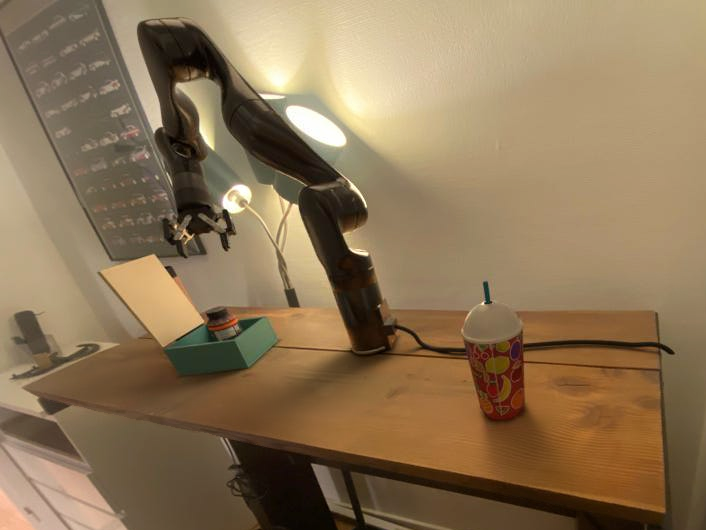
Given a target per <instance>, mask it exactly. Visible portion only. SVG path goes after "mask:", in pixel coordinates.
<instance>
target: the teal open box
mask: <svg viewBox="0 0 706 530" xmlns="http://www.w3.org/2000/svg"><path fill="white" fill-rule="evenodd" d="M237 320H238V322H239V324H240V326H241V328H242V330H243V333H242V334H240V335H239V336H238V337H236V338H235V339H234V340H226V341H218V342H216V341H215V339H214V338H213V336H212V334H211V332H210V331H209V329H208V327H207V323H203V324H204V325H202V326H201V327H199V328H197V329H196V330H194V331H193V332H191V333H189V334H188V335H186V336H185V337H183V338H181V339H180V340H178V341H174V343H173V342H172V343H171V344H169V346H167V347H164V349H163V352H164V353H165V355H166V357H167V358H168V360H169V361H170V363H171V365H172V367H173V368H174V370H175V371H176V372H177V375H178V376H179V377H183V376H184V377H186V376H192V375H201V374H210V373H218V372H225V371H226V372H227V371H234V370H235V371H236V370H242V369H250V367H252V366H253V365H254V364H255V363H256V362H257V361H258V360H259V359H260V358H262V356H264V355H265V354H266V353H267V352H268V351H269V350H270V349H271V348H272V347H273V346H274V345H276V344H277V343H278V342H279V337H278V336H277V334H276V332H275V329H274V327H273V325H272V323H271V320H270V318H269V316H268V315H263V316H255V317H249V318H248V317H247V318H241V319H237Z"/></svg>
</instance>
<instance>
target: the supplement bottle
mask: <svg viewBox="0 0 706 530" xmlns="http://www.w3.org/2000/svg"><path fill="white" fill-rule="evenodd" d="M204 313H205V316H206V318H208V320H207V321H206V324H207V327H208V329H209V331H210V332H211V334H212V336H213V338H214V339H215V341H216V342H218V341H226V340H234V339H235V338H236V337H238V336H239V335H240V334H242V333H243V330H242V328H241V326H240V324H239V322H238V320H239V319H238V318H237V316H236V315H234V314H233V313H230V312H229V311H228V309H227V307H226V306H225V305H218V306H214V307H212V308H209V309H207V310H206V311H205V312H204Z"/></svg>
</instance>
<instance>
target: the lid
mask: <svg viewBox="0 0 706 530" xmlns="http://www.w3.org/2000/svg"><path fill="white" fill-rule="evenodd" d="M164 267H165V266H164V265H163V264H162V262H161V261H160V260H159V258H158V257H157V256H156V254H155V253H152V254H149V255H146V256H143V257H140V258H137V259H133V260H130V261H128V262H127V261H126V262H124V263H121V264H117V265H115V266H112V267H111V266H110V267H108V268H105V269H102V270H99V271H96V274H97V275H98V276H99V277H100V279H102V281H103V282H104V283H105V284H106V286H107V287H108V288H109V289H110V290H111V292H112V293H113V294H114V295H115V296H116V297H117V299H118V300H119V301H120V302H121V304H122V305H123V306H124V307H125V308H126V309H127V310H128V312H129V313H130V314H131V315H132V316H133V318H134V319H135V320H136V321H137V323H138V324H139V325H140V326H141V327H142V328H143V330H144V331H145V332H146V333H147V334H148V336H149V337H150V338H151V339H152V340H153V342H154V343H155V344H156V345H157V346H158V347H159V349H162V348H166V346H168V345H171V344H172V343H173V342H176V339H178V338H179V337H181V336H183V335H184V334H186V333H188V332H189V331H191V330H192V329H194V328H196V327H197V326H199V325H201V324H202V323H203V324H205V319H203V317H202V316H201V314H200V313H199V312H198V310H197V308H196V307H195V308H196V309H195V308H194V307H193V305H192V304H191V303H190V301H189V300H188V299H187V297H186V296H185V295H184V293H183V292H182V291H181V289H180V288H179V287H178V285H177V284H176V283H175V281H174V280H173V279H172V277H171V276H170V275H169V273H168V272H167V271H166V269H165V268H164ZM196 310H197V311H196Z"/></svg>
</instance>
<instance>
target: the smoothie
mask: <svg viewBox="0 0 706 530" xmlns="http://www.w3.org/2000/svg"><path fill="white" fill-rule="evenodd" d="M482 286H483V294H484V301H481V302H479V303H477V304H476V305H474V306H473V307H472V308H471V309H470V310H469V311H468V313H467V314H466V317H465V319H464V323H463V326H462V327H461V329H460V335H461V337H462V341H463V345H464V348H465V349H466V352H465V353H466V357H467V360H468V364H469V368H470V372H471V377H472V380H473V384H474V387H475V391H476V395H477V400H478V403H479V407H480V409H481V410H482V411H483V412H484V414H485V416H487V417H488V418H490V419H493V420H495V421H504V420H510V419H512V418H515V417H516V416H518V415H519V414H520V412H521V411H522V409H523V406H524V405H525V400H526V397H525V396H526V394H525V393H526V391H525V362H524V361H525V358H524V356H525V355H524V348H523V344H524V329H523V328H524V323H523V321H522V319H520V318H519V317H518V315H517V313H516V311H515V310H514V309H513V308H512V307H511V306H509V305H508V304H506V303H505V302H502V301H499V300H495V299H491V295H490V293H491V292H490V287H489V282H488V280H484V281H482Z"/></svg>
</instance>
